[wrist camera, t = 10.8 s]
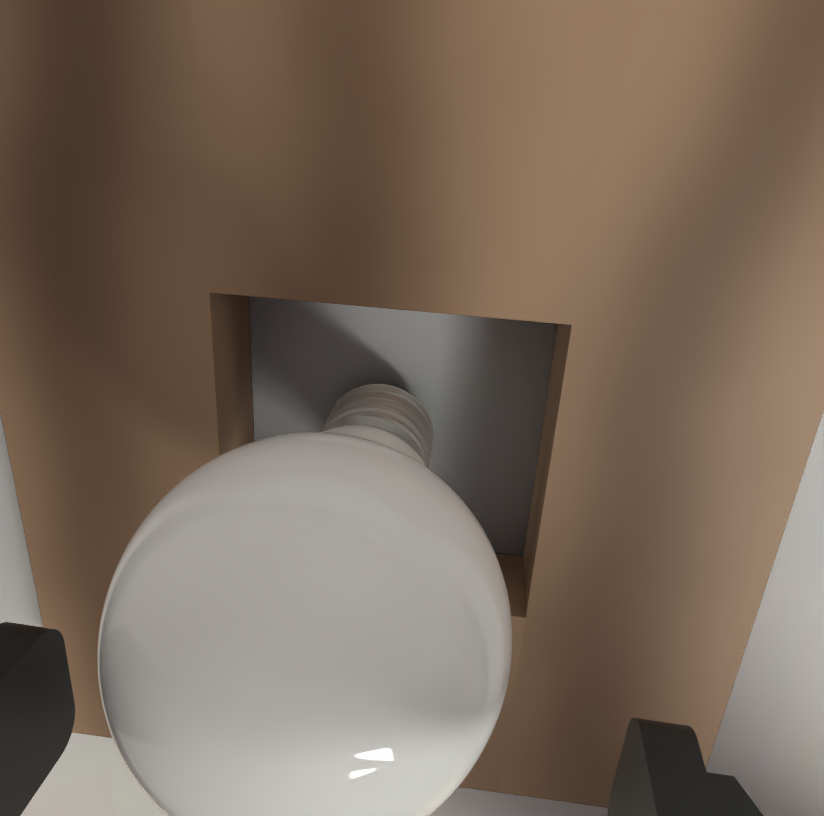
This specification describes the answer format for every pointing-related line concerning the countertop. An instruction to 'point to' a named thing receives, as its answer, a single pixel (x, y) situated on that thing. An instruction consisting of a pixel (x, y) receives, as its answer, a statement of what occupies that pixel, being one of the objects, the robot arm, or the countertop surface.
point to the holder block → (435, 297)
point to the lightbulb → (308, 627)
